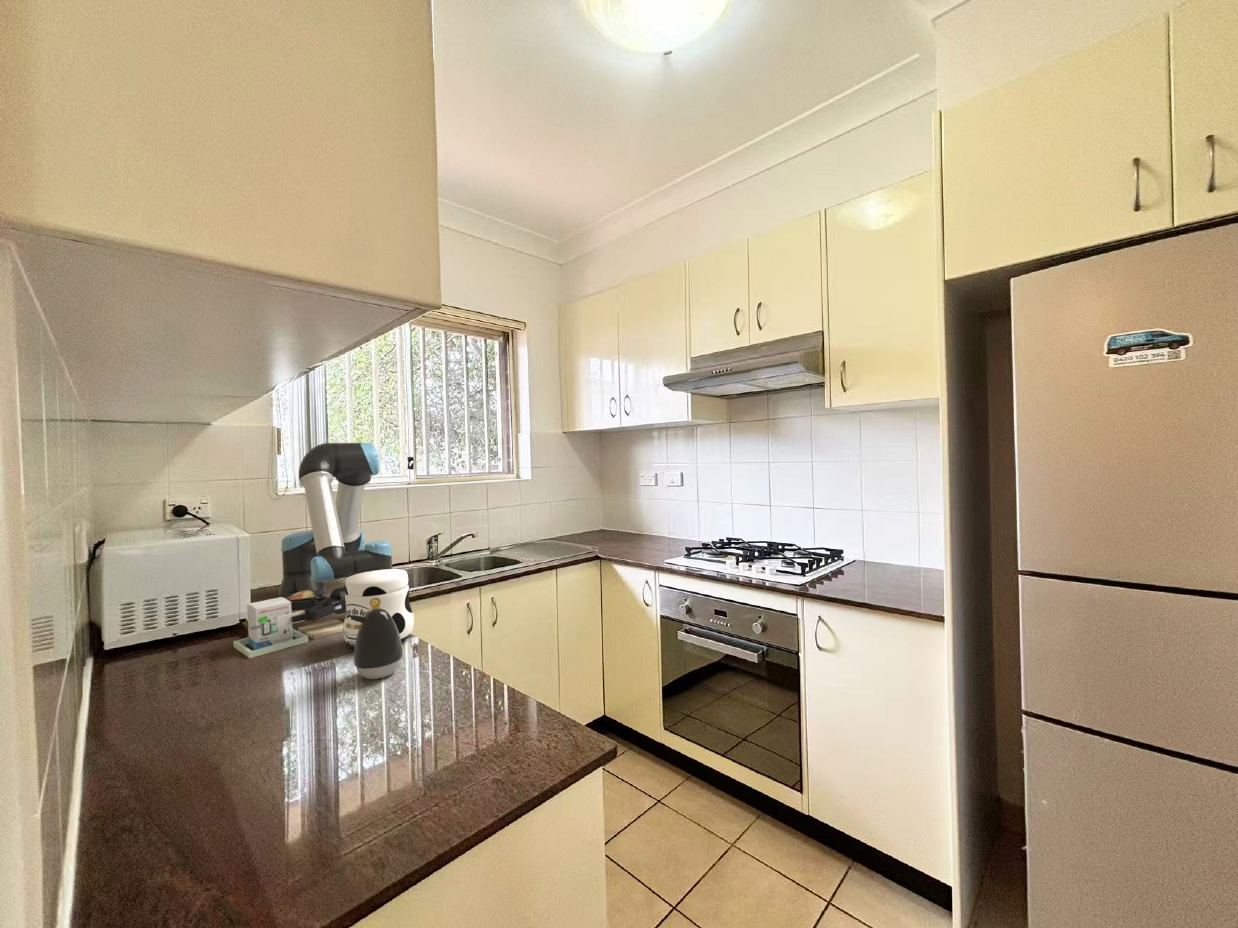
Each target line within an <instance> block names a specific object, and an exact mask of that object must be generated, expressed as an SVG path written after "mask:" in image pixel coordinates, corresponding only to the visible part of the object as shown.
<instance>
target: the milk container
mask: <svg viewBox="0 0 1238 928" xmlns="http://www.w3.org/2000/svg"><path fill="white" fill-rule="evenodd" d="M344 587H345V592H346V594H345V601H346V612H345V617H344V620H343V622H344V625H343V631H342V632H343V638H344V641H345V643H346V644H347V645H348V646H350V647H352V648H354V649H355V642H356V638H357V634H358V631H359V628H360V626H361V623H360V622H357V621H354V620H351V616H352V615H357V616H363V617H365V615H366V614H367V613H368V612H369V611H371V610H373V609H376V608H381V609H384V610H386V611H387V612H388V613H389V614H390V615H391V617H392V619H393V620H394V622H395V624H396V627H397V629H398V632H399V635H400V638H401V642H402V641H404V640H405V639H406V638H408V637H409V636H411V634H412V632H413V630H414V626H415V625H414V624H415V622H414V621H415V619H414V618H415V616H414V612H413V609H412V607H411V603H410V587H409V575H408V572H407V571H406V569H405V570H403V569H398V568H395V569H393V568H392V569H386V570H376V571H369V572H364V573H359V574H355V575H353V576H350V577H346V578H345V583H344Z"/></svg>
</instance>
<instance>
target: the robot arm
mask: <svg viewBox="0 0 1238 928" xmlns="http://www.w3.org/2000/svg"><path fill="white" fill-rule="evenodd" d="M376 448H377V447H375V445H374V444H373V443H371V442H362V441H359V442H325V443H321V444H317V445H316V446H314V447H312V448H311V449H310V450H309V451H307V452H306V453H305V455H304V456H303V458H302V460H301V462H300V464H299V469H298V481H299V485H300V486H301V487H303V488H304V492H305V497H306V503H307V508H308V514H309V519H310V520H309V521H310V524H311V529H310V530H303V531H297V532H295V533H291V534H288V535H286V536H284V537H283V538H282V540H281V549H280V551H281V560H282V580H281V582H280V586H279V589H278V592H277V593H278V594H277V596H278V597H277V598H279V597H283V598H287V597H289V596H291V595H294V594H296V593H298V592H300V591H304V590H313V591H314V592H315V594H316V597H310V598H302V599H294V600H289V601H290V602H291V611H295V610H305V613H304V611H300V612H296V613H291V614H287V615H283V616H279V617H276V628H279V627H283V626H287V625H291V624H292V625H295V623H296V624H298V623H302V622H305V621H306V622H309V621H310V622H316V621H318V620H320V619H323V618H325V617H328V616H330V615H333V614H336V615H341V614H344V613H345V614H346V601H345V594H346V592H345V586H342V587H337V588H334V589H333V590H332V591H331V593H330V596H326V595H325V596H324V595H323V594H325V593H327V585H326V583H325V582H333V581H334V580H340V579H347V578H348V577H350V576H353V575H355V574H359V573H364V572H369V571H376V570H386V569H393V567H392V566H393V565H392V563H393V562H392V557H393V555H392V549H391V544H390V542H389V541H387V540H378V541H370V542H367V543H365V540H366V539H365V533H364V531H363V530H362V529H361V528H360V527H359V520H360V515H361V509H362V503H363V498H364V493H365V487H366V485H367V484H369V483H370V481H371V479H372V476H377V475H379V473H380V462H379V455H378V452H377V449H376ZM334 479H335V480H336V481H337V482H338V484H337V490H336V498H335V497H334V489H333V486H332V483H333V481H334Z"/></svg>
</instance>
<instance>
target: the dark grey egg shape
mask: <svg viewBox="0 0 1238 928" xmlns="http://www.w3.org/2000/svg"><path fill="white" fill-rule="evenodd" d="M351 620H354V621H357V622H360V623H361V626H360V628H359V631H358V634H357V638H356V642H355V648H354V649H353V650H354V651H353V665H354V666H355V667H356V668H355V669H356V671H357V672H358V674H359V675H360V676H361V677H363V678H364V679H367V680H379V678H381V679H383V678H387V677H389V676H391V675H392V674H393V673H394V672H396V671H397V670H398V668H399V666H400V664H401V661H402V658H403V656H404V651H403V650H404V649H403V644H402V641H401V638H400V635H399V632H398V629H397V627H396V624H395V622H394V620H393V619H392V617H391V615H390V614H389V613H388V612H387V611H386V610H384V609H381V608H376V609H373V610H371V611H369V612H368V613H367V614H366V615H365V617H363V616H357V615H352V616H351Z"/></svg>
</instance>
